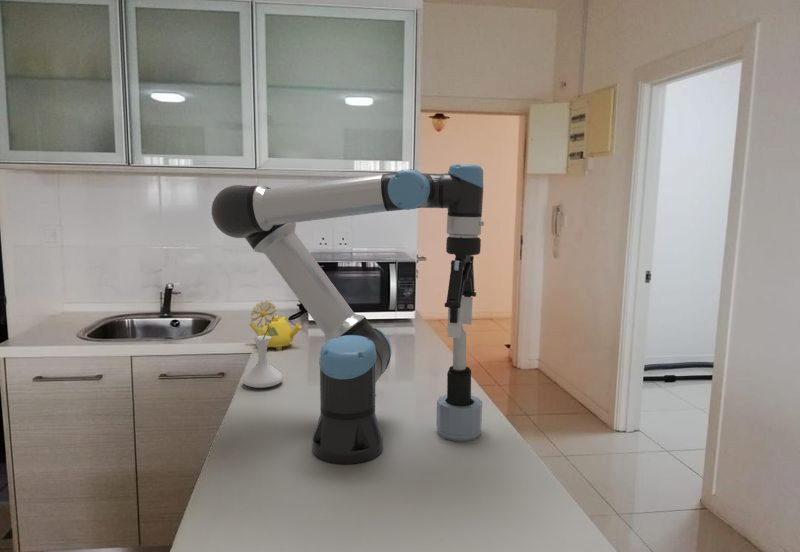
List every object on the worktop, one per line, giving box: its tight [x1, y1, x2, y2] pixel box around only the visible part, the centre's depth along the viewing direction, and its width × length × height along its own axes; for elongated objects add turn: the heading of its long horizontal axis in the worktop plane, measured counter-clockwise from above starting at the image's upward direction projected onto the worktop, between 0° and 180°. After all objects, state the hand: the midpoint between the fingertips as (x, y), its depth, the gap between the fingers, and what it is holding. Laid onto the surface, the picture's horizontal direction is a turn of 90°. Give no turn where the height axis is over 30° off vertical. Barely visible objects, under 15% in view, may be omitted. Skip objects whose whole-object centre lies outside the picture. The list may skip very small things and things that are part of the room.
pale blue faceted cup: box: [436, 393, 483, 443], centre depth 129 cm, size 10×10×8 cm
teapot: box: [248, 315, 302, 351], centre depth 201 cm, size 20×18×11 cm
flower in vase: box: [242, 299, 284, 389], centre depth 159 cm, size 13×11×25 cm
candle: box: [446, 319, 472, 406], centre depth 128 cm, size 5×5×25 cm
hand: (460, 330), depth 127 cm, fingers open, 13 cm apart
